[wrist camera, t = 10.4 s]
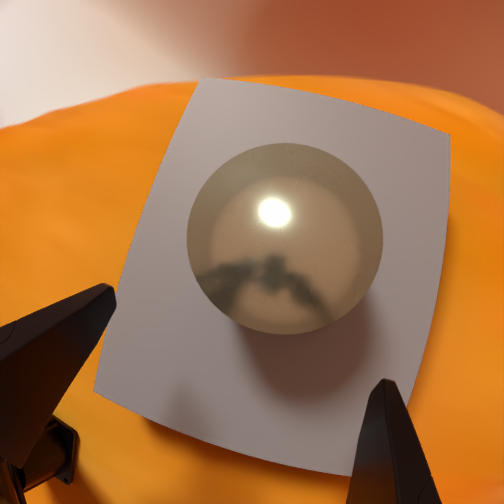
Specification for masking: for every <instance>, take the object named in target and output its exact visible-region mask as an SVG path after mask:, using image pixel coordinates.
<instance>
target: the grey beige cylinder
mask: <svg viewBox="0 0 504 504" xmlns="http://www.w3.org/2000/svg"><path fill="white" fill-rule="evenodd" d="M382 250H383V228H382V221H381V217H380V213H379V209H378V206H377V204H376V202H375V200H374V197H373V195H372V194H371V192H370V190H369V189H368V187H367V185H366V184H365V183H364V181H363V180H362V179H361V178H360V176H359V175H358V174H357V173H356V172H355V171H354V170H353V169H352V168H351V167H349V166H348V165H347V164H346V163H344V162H343V161H342V160H340V159H338V158H337V157H335V156H333V155H332V154H330V153H327V152H325V151H323V150H321V149H318V148H314V147H311V146H307V145H302V144H296V143H275V144H268V145H263V146H258V147H255V148H252V149H249V150H247V151H245V152H242V153H240V154H238V155H236V156H235V157H233V158H231V159H230V160H228V161H227V162H225V163H224V164H223V165H222V166H220V167H219V168H218V169H217V170H216V171H215V172H214V173H213V174H212V175H211V176H210V177H209V178H208V180H207V181H206V182H205V184H204V185H203V186H202V188H201V190H200V191H199V193H198V195H197V197H196V199H195V201H194V204H193V206H192V208H191V212H190V216H189V219H188V226H187V251H188V258H189V262H190V265H191V269H192V271H193V274H194V276H195V278H196V281H197V283H198V284H199V286H200V288H201V289H202V291H203V292H204V294H205V295H206V296H207V298H208V299H209V300H210V301H211V302H212V303H213V304H214V305H215V306H216V307H217V308H218V309H219V310H220V311H221V312H222V313H224V314H225V315H226V316H228V317H229V318H231V319H232V320H234V321H236V322H238V323H240V324H241V325H243V326H246V327H248V328H251V329H254V330H257V331H261V332H266V333H270V334H283V335H286V334H299V333H305V332H309V331H313V330H316V329H319V328H322V327H325V326H327V325H329V324H331V323H333V322H335V321H336V320H338V319H339V318H341V317H342V316H344V315H345V314H347V313H348V312H349V311H350V310H351V309H352V308H353V307H354V306H355V305H357V304H358V302H359V301H360V300H361V299H362V298H363V296H364V295H365V294H366V293H367V291H368V289H369V288H370V286H371V284H372V283H373V281H374V278H375V276H376V274H377V271H378V268H379V265H380V261H381V257H382Z"/></svg>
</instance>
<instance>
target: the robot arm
mask: <svg viewBox="0 0 504 504" xmlns="http://www.w3.org/2000/svg"><path fill="white" fill-rule="evenodd" d="M116 307H117V302H116V297H115V292H114V288H113V287H112V286H110V285H108V284H106V283H100V284H98V285H96V286H93V287H91V288H89V289H86V290H84V291H82V292H79V293H77V294H75V295H72V296H70V297H68V298H65V299H63V300H61V301H58V302H56V303H54V304H52V305H49V306H47V307H45V308H42V309H40V310H38V311H36V312H33V313H31V314H29V315H27V316H24V317H22V318H20V319H18V320H17V321H16V320H15V321H13V322H11V323H9V324H6V325H4V326H2V327H0V504H27V503H26V499H25V496H24V493H25V492H27V491H29V490H31V489H33V488H35V487H37V486H38V485H40V484H42V483H44V482H46V481H48V480H49V479H51V478H53V477H56V478H58V479H59V480H61V481H62V482H64V483H65V484H67V485H70V484H71V483H72V482H73V469H74V457H75V446H76V437H77V434H76V431H75V430H74V429H73V428H72V427H70V426H69V425H67V424H66V423H64V422H63V421H61V420H60V419H58V418H57V417H55V416H54V415H53V414H52V413H53V412H54V410H55V408H56V407H57V405H58V403H59V402H60V400H61V399H62V397H63V395H64V394H65V392H66V391H67V389H68V387H69V386H70V384H71V383H72V381H73V380H74V378H75V377H76V375H77V373H78V372H79V370H80V369H81V367H82V366H83V364H84V363H85V361H86V360H87V358H88V357H89V355H90V354H91V352H92V351H93V349H94V348H95V346H96V345H97V343H98V341H99V339H100V338H101V336H102V334H103V332H104V330H105V328H106V326H107V325H108V323H109V321H110V319H111V317H112V315H113V314H114V312H115V310H116ZM70 433H71V434H70ZM346 504H442V502H441V500H440V497H439V495H438V492H437V489H436V486H435V483H434V480H433V477H432V476H431V472H430V469H429V466H428V463H427V460H426V458H425V455H424V452H423V449H422V447H421V444H420V441H419V439H418V436H417V433H416V431H415V428H414V426H413V423H412V421H411V418H410V416H409V413H408V411H407V408H406V406H405V403H404V401H403V398H402V396H401V394H400V391H399V389H398V387H397V384H396V382H395V381H394V380H390V379H386V378H383V379H381V380H380V381H379V383H378V384H377V385H376V386H375V387H374V389H373V390H372V391H371V393H370V395H369V398H368V402H367V407H366V411H365V415H364V419H363V422H362V426H361V430H360V434H359V438H358V443H357V448H356V454H355V460H354V465H353V471H352V476H351V481H350V486H349V491H348V495H347V500H346Z"/></svg>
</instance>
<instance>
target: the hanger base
mask: <svg viewBox="0 0 504 504" xmlns="http://www.w3.org/2000/svg"><path fill="white" fill-rule="evenodd" d="M275 143H296V144H302V145H307V146H311V147H314V148H318V149H321V150H323V151H325V152H327V153H330V154H332V155H333V156H335V157H337V158H338V159H340V160H342V161H343V162H344V163H346V164H347V165H348V166H349V167H351V168H352V169H353V170H354V171H355V172H356V173H357V174H358V175H359V176H360V178H361V179H362V180H363V181H364V183H365V184H366V185H367V187H368V189H369V190H370V192H371V194H372V195H373V197H374V200H375V202H376V204H377V206H378V209H379V213H380V217H381V221H382V228H383V250H382V257H381V261H380V265H379V268H378V271H377V274H376V276H375V278H374V281H373V283H372V284H371V286H370V288H369V289H368V291H367V293H366V294H365V295H364V296H363V298H362V299H361V300H360V301H359V302H358V304H357V305H355V306H354V307H353V308H352V309H351V310H350V311H349V312H348V313H347V314H345V315H344V316H342V317H341V318H339V319H338V320H336V321H335V322H333V323H331V324H329V325H327V326H325V327H322V328H319V329H316V330H313V331H309V332H305V333H299V334H286V335H283V334H270V333H266V332H261V331H257V330H254V329H251V328H248V327H246V326H243V325H241V324H240V323H238V322H236V321H234V320H232V319H231V318H229V317H228V316H226V315H225V314H224V313H222V312H221V311H220V310H219V309H218V308H217V307H216V306H215V305H214V304H213V303H212V302H211V301H210V300H209V299H208V298H207V296H206V295H205V294H204V292H203V291H202V289H201V288H200V286H199V284H198V283H197V281H196V278H195V276H194V274H193V271H192V269H191V265H190V262H189V258H188V251H187V226H188V219H189V216H190V212H191V208H192V206H193V204H194V201H195V199H196V197H197V195H198V193H199V191H200V190H201V188H202V186H203V185H204V184H205V182H206V181H207V180H208V178H209V177H210V176H211V175H212V174H213V173H214V172H215V171H216V170H217V169H218V168H219V167H220V166H222V165H223V164H224V163H225V162H227V161H228V160H230V159H231V158H233V157H235V156H236V155H238V154H240V153H242V152H245V151H247V150H249V149H252V148H255V147H258V146H263V145H268V144H275ZM449 193H450V135H449V134H446V133H444V132H441V131H439V130H436V129H433V128H431V127H428V126H425V125H423V124H420V123H417V122H414V121H412V120H409V119H406V118H403V117H400V116H397V115H394V114H391V113H387V112H384V111H381V110H378V109H374V108H371V107H367V106H364V105H360V104H356V103H353V102H349V101H345V100H341V99H337V98H333V97H328V96H324V95H320V94H315V93H310V92H306V91H300V90H295V89H290V88H284V87H279V86H273V85H266V84H259V83H252V82H245V81H237V80H228V79H218V78H206V77H201V79H200V81H199V83H198V85H197V87H196V89H195V91H194V93H193V95H192V97H191V99H190V101H189V103H188V105H187V107H186V109H185V111H184V113H183V116H182V118H181V120H180V122H179V124H178V126H177V129H176V131H175V133H174V135H173V137H172V140H171V142H170V144H169V147H168V149H167V151H166V154H165V156H164V158H163V161H162V163H161V165H160V168H159V170H158V173H157V175H156V178H155V180H154V183H153V185H152V188H151V191H150V193H149V196H148V198H147V201H146V204H145V206H144V209H143V212H142V215H141V217H140V220H139V223H138V226H137V229H136V232H135V235H134V237H133V240H132V243H131V246H130V250H129V253H128V256H127V259H126V262H125V265H124V268H123V272H122V275H121V278H120V282H119V285H118V289H117V292H116V296H115V297H116V302H117V307H116V310H115V312H114V314H113V315H112V317H111V319H110V321H109V323H108V326H107V330H106V334H105V338H104V342H103V347H102V351H101V356H100V360H99V365H98V370H97V375H96V380H95V385H94V390H93V391H94V392H95V393H97V394H99V395H101V396H103V397H105V398H107V399H108V400H110V401H112V402H114V403H116V404H118V405H120V406H122V407H124V408H126V409H128V410H130V411H132V412H134V413H137V414H139V415H141V416H143V417H145V418H147V419H150V420H152V421H154V422H156V423H159V424H161V425H163V426H166V427H168V428H171V429H173V430H176V431H178V432H181V433H183V434H186V435H188V436H191V437H194V438H196V439H199V440H202V441H205V442H208V443H211V444H213V445H216V446H219V447H222V448H226V449H229V450H232V451H235V452H238V453H242V454H245V455H249V456H252V457H256V458H260V459H263V460H267V461H271V462H275V463H280V464H284V465H288V466H293V467H298V468H302V469H307V470H313V471H318V472H324V473H330V474H337V475H344V476H352V471H353V465H354V460H355V454H356V448H357V443H358V438H359V434H360V430H361V426H362V422H363V419H364V415H365V411H366V407H367V402H368V398H369V395H370V393H371V391H372V390H373V389H374V387H375V386H376V385H377V384H378V383H379V381H380V380H381V379H383V378H386V379H390V380H394V381H395V382H396V384H397V387H398V389H399V391H400V394H401V396H402V398H403V401H404V403H405V406H406V407H407V404H408V402H409V399H410V396H411V393H412V390H413V387H414V384H415V381H416V378H417V374H418V371H419V368H420V364H421V361H422V357H423V354H424V350H425V346H426V343H427V339H428V335H429V331H430V326H431V322H432V318H433V313H434V308H435V304H436V299H437V293H438V288H439V282H440V276H441V270H442V264H443V257H444V249H445V241H446V232H447V221H448V209H449Z"/></svg>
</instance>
